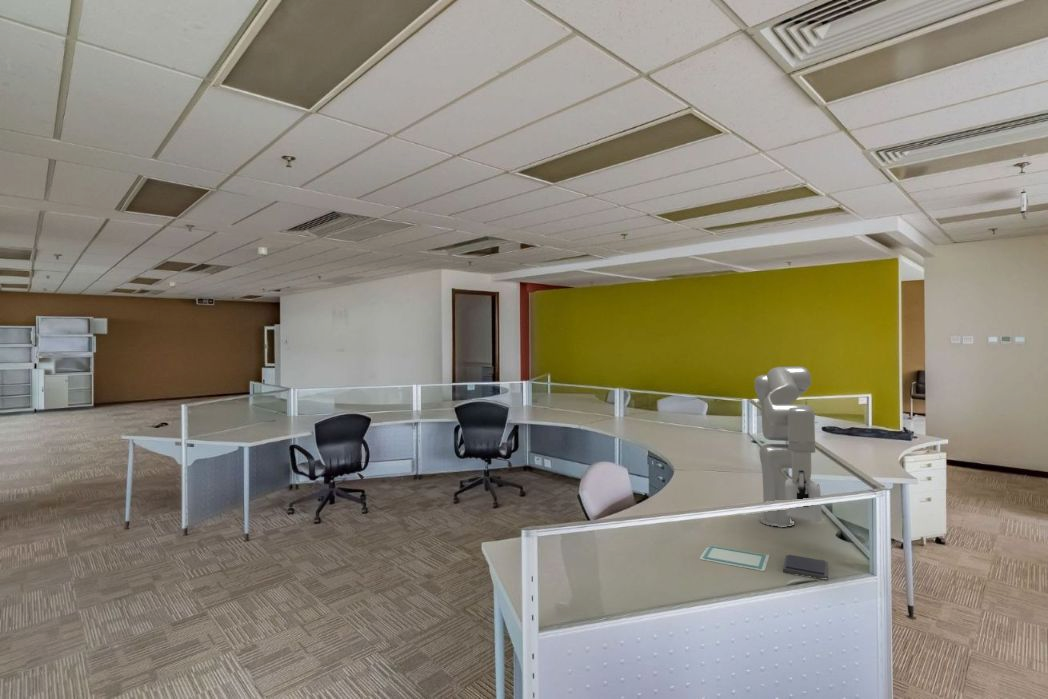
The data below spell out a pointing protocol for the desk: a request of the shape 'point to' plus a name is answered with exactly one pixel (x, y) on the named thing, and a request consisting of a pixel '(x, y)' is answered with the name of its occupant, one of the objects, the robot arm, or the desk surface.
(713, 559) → the teal bordered white mat
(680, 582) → the desk surface
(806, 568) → the ink pad
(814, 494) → the photo printer
